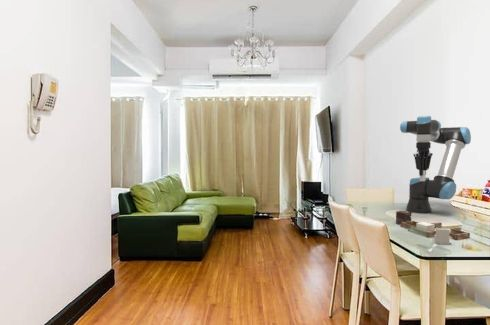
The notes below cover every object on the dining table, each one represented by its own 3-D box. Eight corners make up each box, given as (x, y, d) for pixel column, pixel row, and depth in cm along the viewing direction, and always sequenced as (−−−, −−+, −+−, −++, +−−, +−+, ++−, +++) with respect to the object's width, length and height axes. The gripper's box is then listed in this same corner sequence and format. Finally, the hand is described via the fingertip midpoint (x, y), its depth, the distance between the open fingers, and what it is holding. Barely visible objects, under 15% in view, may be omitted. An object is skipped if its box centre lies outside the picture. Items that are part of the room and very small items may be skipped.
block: (424, 231, 170) (424, 222, 170) (434, 234, 165) (434, 224, 164) (416, 232, 168) (416, 223, 168) (426, 235, 163) (426, 225, 162)
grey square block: (433, 242, 153) (433, 227, 152) (449, 243, 151) (450, 228, 150) (435, 244, 149) (435, 229, 149) (452, 245, 147) (452, 230, 147)
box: (404, 225, 180) (405, 213, 180) (395, 223, 186) (395, 211, 185) (411, 224, 183) (411, 212, 183) (402, 222, 188) (402, 210, 188)
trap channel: (427, 223, 185) (427, 219, 185) (476, 236, 159) (476, 232, 158) (396, 227, 178) (396, 222, 178) (442, 242, 151) (442, 237, 151)
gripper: (426, 141, 194) (425, 179, 195) (409, 142, 189) (408, 180, 191) (437, 141, 187) (435, 181, 188) (420, 142, 182) (419, 182, 184)
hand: (422, 180), depth 190 cm, fingers closed
